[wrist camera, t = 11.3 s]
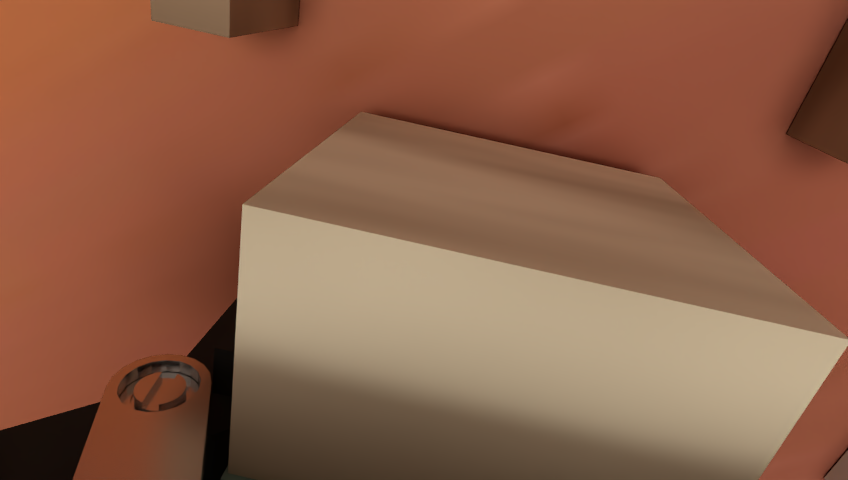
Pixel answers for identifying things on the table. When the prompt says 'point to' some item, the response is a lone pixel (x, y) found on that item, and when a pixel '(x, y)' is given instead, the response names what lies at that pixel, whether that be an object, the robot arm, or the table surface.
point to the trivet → (839, 469)
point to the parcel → (504, 322)
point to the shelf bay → (279, 8)
